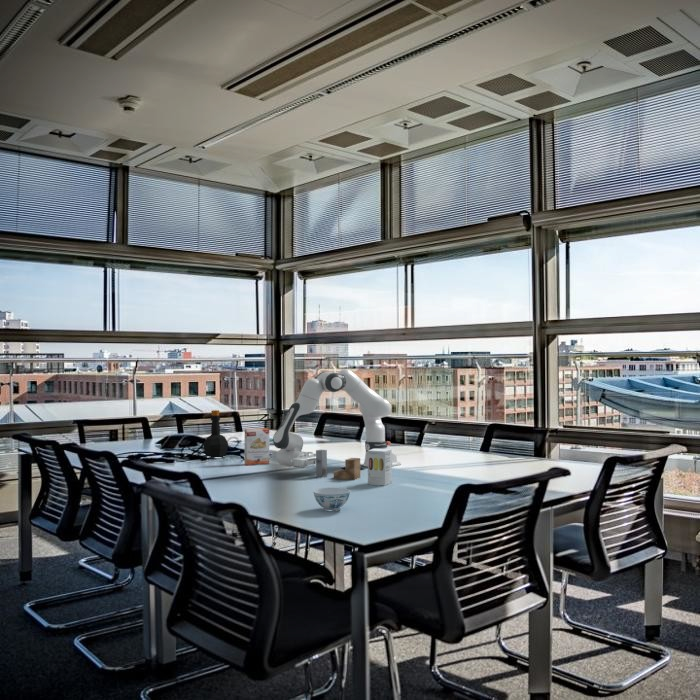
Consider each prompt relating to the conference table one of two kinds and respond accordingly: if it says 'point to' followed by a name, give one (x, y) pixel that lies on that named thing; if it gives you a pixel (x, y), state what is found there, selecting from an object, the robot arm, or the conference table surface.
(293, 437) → the robot arm
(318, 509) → the conference table surface
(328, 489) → the chinaware
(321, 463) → the grey tall block
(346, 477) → the brown l-shaped block
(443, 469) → the conference table surface
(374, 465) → the supplement box
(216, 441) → the bottle
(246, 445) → the cracker box
